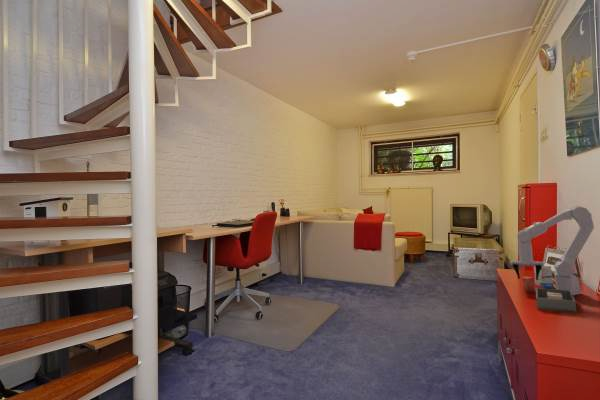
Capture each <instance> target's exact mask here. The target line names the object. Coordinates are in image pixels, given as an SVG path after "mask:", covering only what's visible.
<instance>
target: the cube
mask: <svg viewBox="0 0 600 400" xmlns="http://www.w3.org/2000/svg"><path fill="white" fill-rule="evenodd" d="M547 296H548V299H559V300H562V294H561V293H551V292H547Z"/></svg>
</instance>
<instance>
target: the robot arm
mask: <svg viewBox="0 0 600 400" xmlns="http://www.w3.org/2000/svg"><path fill="white" fill-rule="evenodd" d="M573 219H574V221H575V222H576V223H577V225H578V229H577V231H576V233H575V234H574V236H573V238H572V240H571V241H570V243H569V245H568V247H567V248H566V250H565V252H564V254H563V255H562V256H561V257H560V258H559V259H558V261H556V262H554V264H553V267H554V270H555V271H556V272H555V273H554V283H555V289H557V290H571V291H572V294H573V296H576V295H581V294H583V292H581V289H580V280H579V278H578V277H577V276H576V275H574V274H573V267H574V266H575V263H576V260H577V258H578V256H579V255H580V253H581V251H582V250H583V247H584V246H585V244H586V242H587V241H588V239H589V237H590V235H591V234H592V232H593V230H594V228H595V225H594V221H593V216H592V213H591V212H590V211H589V210H588V209H587V208H586V207H583V206H580V205H575V206H572V207H571V208H568V209H566V210H563V211H561V212H559V213H557V214H556V215H554V216H552V217H550V218H548V219H547V220H545V221H544V222H541V221H538V222H536V221H534V222H533V223H532V225H530V226H528V227H524V228H523V229H522V230H519V231H518V232H517V240H518V246H517V247H518V256H519V260H510V261H509V265H510V266H512V268H513V270H514V271H515V273H516V276H517V279H518V280H520V279H521V276H520V267H519V266H531V267H532V266H533V267H534V266H536V280H538V276H539V272H540V270H541V268H542V266H544V264H545V262H544V261H535V260H534V257H533V256H534V255H533V246H532V241H531V240H532V238H537V237H538V236H540V235H542V234H544V233H546V232H547V231H548V228H550V227H552V226H554V225H556V224H558V223H560V222H562V221H568V220H569V221H570V220H572V221H573Z"/></svg>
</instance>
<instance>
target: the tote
mask: <svg viewBox="0 0 600 400" xmlns="http://www.w3.org/2000/svg"><path fill="white" fill-rule="evenodd" d="M547 292H551V293H561V294H562V300H559V299H548V296H547ZM574 296H575V295H573V294H572V291H571V290H557V289H556V288H543V287H535V300H536V301H535V302H536V309H537V310H541V311H543V310H544V311H549V312H550V311H551V312H561V313H562V312H563V313H568V314H569V313H572V314H577V305H576V304H577V303H576V299H575V297H574Z"/></svg>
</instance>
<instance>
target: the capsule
mask: <svg viewBox="0 0 600 400" xmlns="http://www.w3.org/2000/svg"><path fill="white" fill-rule="evenodd" d="M521 278H522V289H523V292H525V293H536V286H535V285H536V284H535V277H533V276H522V277H521Z"/></svg>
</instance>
